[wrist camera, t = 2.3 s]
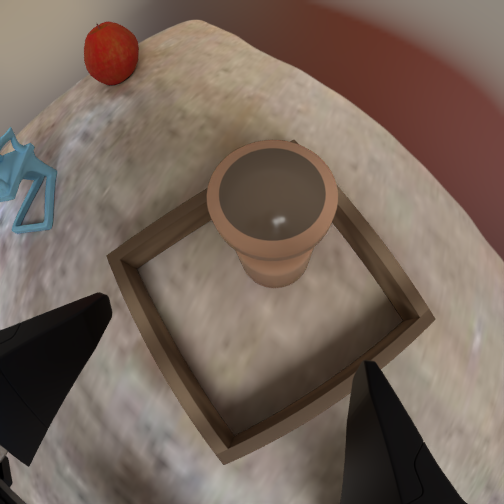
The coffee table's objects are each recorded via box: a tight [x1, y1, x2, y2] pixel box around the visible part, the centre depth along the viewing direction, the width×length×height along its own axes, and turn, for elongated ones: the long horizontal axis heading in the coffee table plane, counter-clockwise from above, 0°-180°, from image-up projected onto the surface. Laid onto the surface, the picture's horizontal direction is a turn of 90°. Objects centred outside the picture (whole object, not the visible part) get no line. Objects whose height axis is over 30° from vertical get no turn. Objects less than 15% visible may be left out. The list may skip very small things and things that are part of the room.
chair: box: [0, 127, 57, 234], centre depth 22 cm, size 8×8×12 cm
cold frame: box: [107, 140, 435, 465], centre depth 20 cm, size 18×18×3 cm
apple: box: [84, 22, 139, 85], centre depth 28 cm, size 8×8×11 cm
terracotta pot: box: [207, 140, 338, 288], centre depth 18 cm, size 6×6×10 cm
